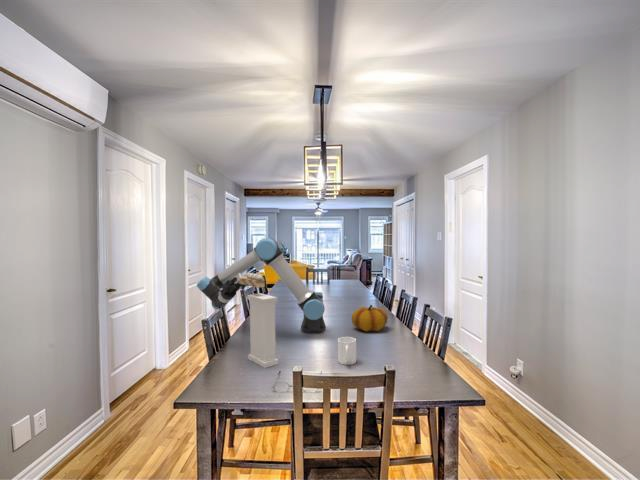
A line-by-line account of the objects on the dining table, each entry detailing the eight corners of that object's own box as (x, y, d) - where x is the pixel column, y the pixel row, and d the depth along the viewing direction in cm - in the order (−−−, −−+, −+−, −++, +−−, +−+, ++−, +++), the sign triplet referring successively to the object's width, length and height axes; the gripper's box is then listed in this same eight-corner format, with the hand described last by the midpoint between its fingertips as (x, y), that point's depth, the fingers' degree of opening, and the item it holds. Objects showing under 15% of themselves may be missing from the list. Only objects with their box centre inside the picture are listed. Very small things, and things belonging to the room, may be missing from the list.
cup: (356, 358, 162) (355, 336, 162) (356, 368, 150) (356, 345, 150) (338, 358, 163) (338, 336, 163) (337, 368, 151) (337, 344, 151)
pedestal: (278, 363, 157) (277, 297, 156) (264, 367, 152) (263, 299, 152) (261, 355, 168) (260, 293, 168) (248, 358, 164) (247, 295, 163)
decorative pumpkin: (370, 323, 226) (369, 299, 226) (395, 330, 207) (394, 305, 207) (345, 328, 215) (345, 303, 215) (369, 336, 196) (369, 310, 196)
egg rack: (264, 286, 161) (264, 274, 161) (257, 287, 159) (256, 274, 159) (240, 281, 180) (240, 270, 180) (233, 282, 177) (233, 270, 177)
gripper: (243, 298, 192) (261, 280, 176) (213, 302, 181) (230, 283, 165) (240, 285, 195) (257, 267, 179) (210, 289, 184) (226, 269, 168)
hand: (244, 275), depth 172 cm, fingers closed on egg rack, 4 cm apart
